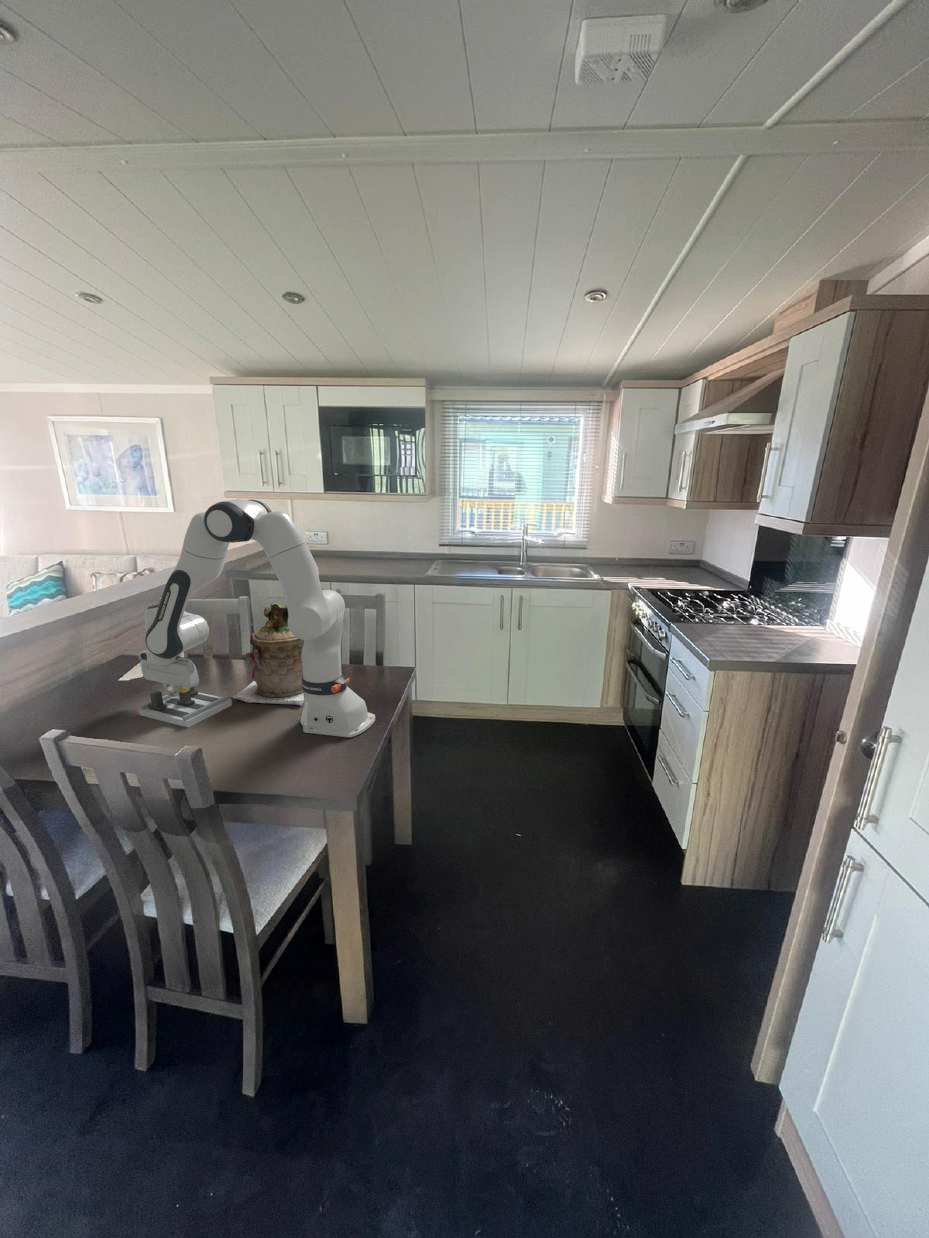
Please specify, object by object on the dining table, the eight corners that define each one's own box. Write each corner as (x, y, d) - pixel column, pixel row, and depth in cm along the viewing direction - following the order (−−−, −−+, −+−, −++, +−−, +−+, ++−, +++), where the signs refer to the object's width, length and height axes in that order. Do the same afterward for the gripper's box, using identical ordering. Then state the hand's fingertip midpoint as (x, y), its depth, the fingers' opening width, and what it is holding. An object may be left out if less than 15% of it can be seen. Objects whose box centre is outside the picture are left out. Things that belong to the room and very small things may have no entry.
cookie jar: (331, 678, 175) (326, 594, 166) (302, 708, 151) (295, 612, 143) (267, 674, 177) (259, 591, 169) (229, 703, 154) (218, 608, 145)
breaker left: (167, 707, 144) (164, 692, 143) (160, 710, 142) (158, 695, 141) (155, 704, 146) (153, 689, 145) (148, 707, 144) (146, 692, 143)
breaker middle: (195, 702, 147) (193, 688, 146) (188, 705, 145) (186, 691, 144) (183, 699, 149) (181, 685, 148) (177, 702, 147) (174, 688, 146)
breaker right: (198, 693, 154) (196, 679, 153) (192, 695, 152) (190, 682, 151) (187, 690, 156) (185, 677, 154) (181, 693, 154) (178, 679, 152)
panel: (231, 705, 152) (230, 696, 151) (188, 727, 137) (186, 717, 137) (186, 694, 159) (184, 686, 158) (139, 715, 144) (138, 705, 143)
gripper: (201, 655, 144) (206, 697, 148) (153, 647, 151) (160, 686, 155) (182, 662, 139) (189, 705, 142) (134, 653, 146) (141, 694, 149)
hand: (173, 695), depth 149 cm, fingers closed
